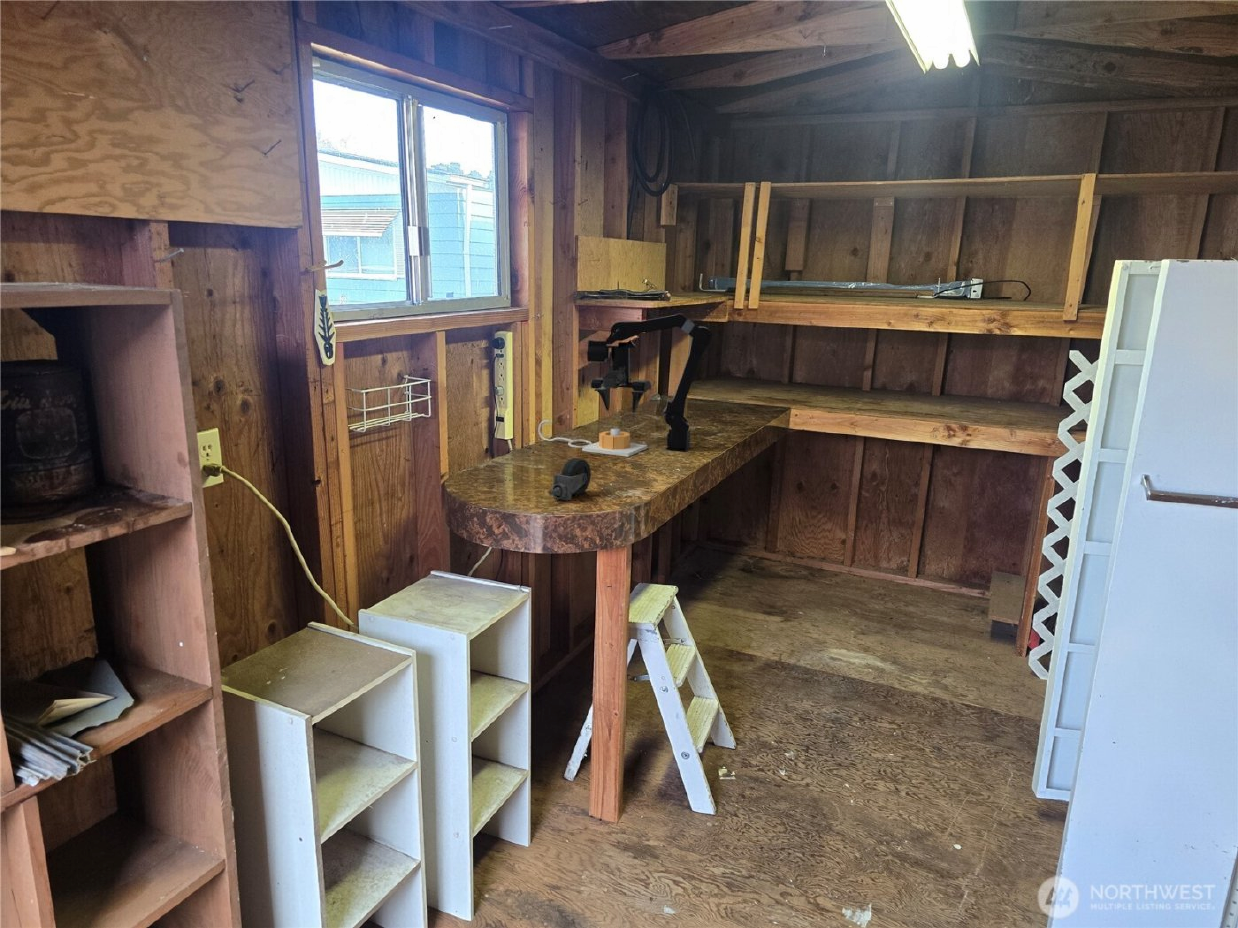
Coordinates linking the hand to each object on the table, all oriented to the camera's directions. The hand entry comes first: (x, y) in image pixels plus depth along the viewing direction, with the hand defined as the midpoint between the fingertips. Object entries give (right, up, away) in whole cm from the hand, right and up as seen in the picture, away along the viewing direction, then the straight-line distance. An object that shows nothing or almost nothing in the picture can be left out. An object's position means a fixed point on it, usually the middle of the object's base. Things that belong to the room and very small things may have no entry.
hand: (620, 411), depth 245 cm
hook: (-19, -10, +9) cm, 23 cm away
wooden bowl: (-2, -11, -1) cm, 11 cm away
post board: (-2, -12, -1) cm, 12 cm away
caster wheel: (-13, -25, -55) cm, 62 cm away
